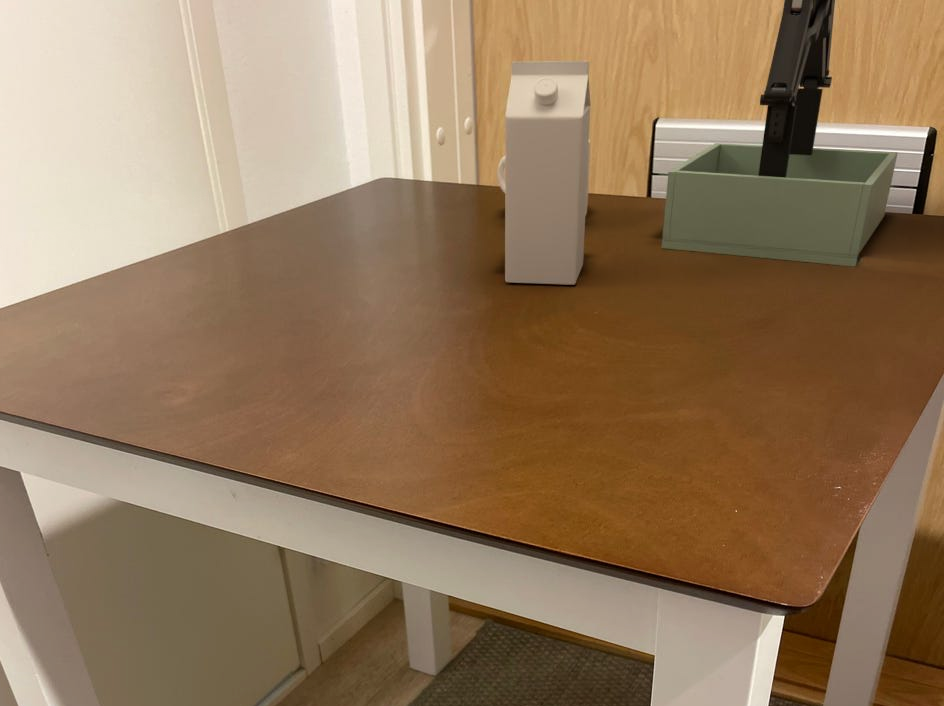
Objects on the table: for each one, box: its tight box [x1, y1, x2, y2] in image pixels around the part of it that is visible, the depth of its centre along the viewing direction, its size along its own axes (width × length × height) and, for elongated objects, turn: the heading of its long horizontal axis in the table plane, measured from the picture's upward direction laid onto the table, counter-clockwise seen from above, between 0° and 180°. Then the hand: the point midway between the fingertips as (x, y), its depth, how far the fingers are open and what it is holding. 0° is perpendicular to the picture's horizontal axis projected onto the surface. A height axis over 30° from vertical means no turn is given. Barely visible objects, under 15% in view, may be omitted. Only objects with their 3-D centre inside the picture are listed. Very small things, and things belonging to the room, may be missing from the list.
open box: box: [661, 142, 898, 268], centre depth 108 cm, size 21×19×8 cm
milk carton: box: [504, 60, 591, 286], centre depth 94 cm, size 7×7×19 cm
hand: (786, 165), depth 106 cm, fingers open, 13 cm apart
